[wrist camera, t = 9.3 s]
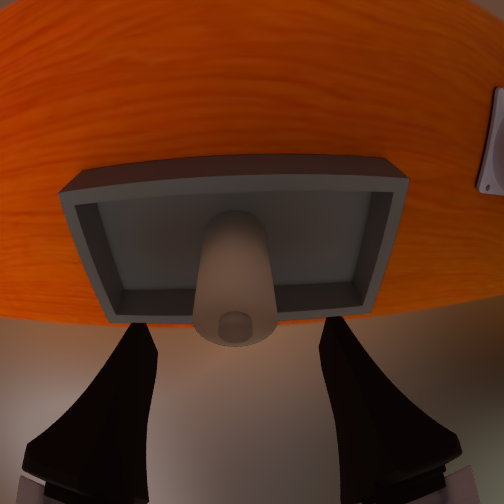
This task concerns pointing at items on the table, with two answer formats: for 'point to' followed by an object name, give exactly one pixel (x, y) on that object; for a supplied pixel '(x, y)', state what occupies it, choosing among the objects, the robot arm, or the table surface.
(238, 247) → the cell
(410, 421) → the robot arm
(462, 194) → the table surface
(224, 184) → the trough
